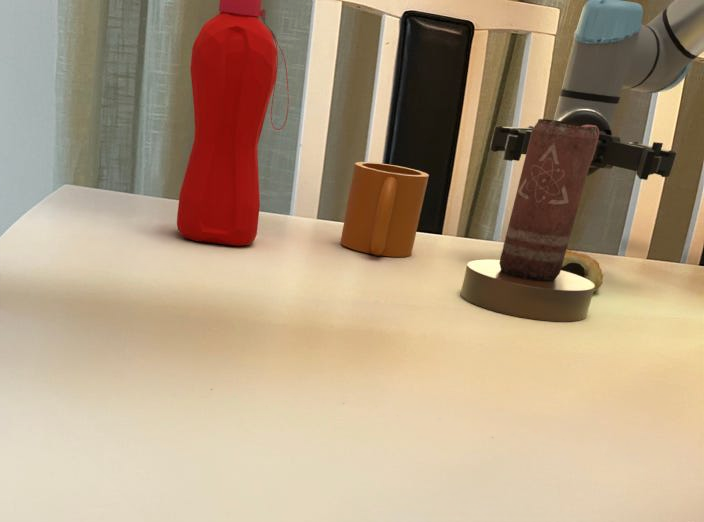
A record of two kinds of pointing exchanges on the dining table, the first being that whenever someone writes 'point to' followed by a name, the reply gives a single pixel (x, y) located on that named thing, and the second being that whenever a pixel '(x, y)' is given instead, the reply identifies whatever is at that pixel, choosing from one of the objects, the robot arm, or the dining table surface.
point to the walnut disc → (527, 293)
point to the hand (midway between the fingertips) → (582, 156)
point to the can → (548, 198)
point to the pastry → (583, 267)
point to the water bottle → (228, 124)
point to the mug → (383, 209)
